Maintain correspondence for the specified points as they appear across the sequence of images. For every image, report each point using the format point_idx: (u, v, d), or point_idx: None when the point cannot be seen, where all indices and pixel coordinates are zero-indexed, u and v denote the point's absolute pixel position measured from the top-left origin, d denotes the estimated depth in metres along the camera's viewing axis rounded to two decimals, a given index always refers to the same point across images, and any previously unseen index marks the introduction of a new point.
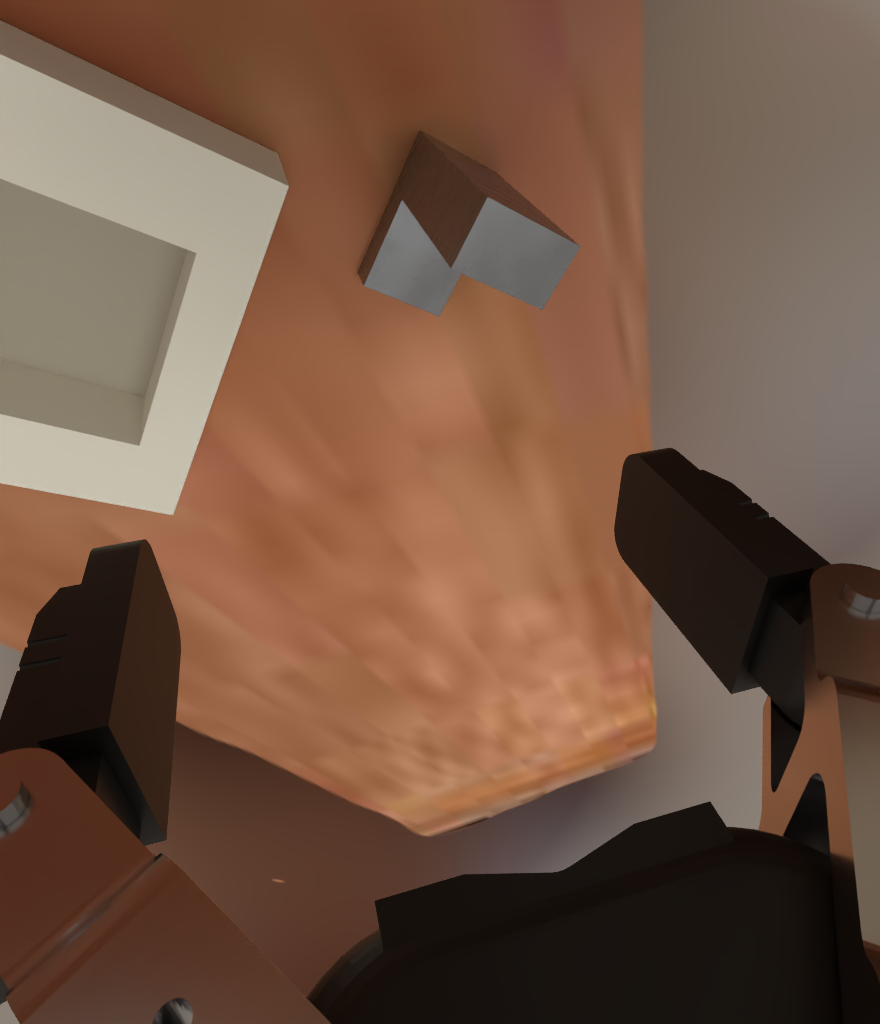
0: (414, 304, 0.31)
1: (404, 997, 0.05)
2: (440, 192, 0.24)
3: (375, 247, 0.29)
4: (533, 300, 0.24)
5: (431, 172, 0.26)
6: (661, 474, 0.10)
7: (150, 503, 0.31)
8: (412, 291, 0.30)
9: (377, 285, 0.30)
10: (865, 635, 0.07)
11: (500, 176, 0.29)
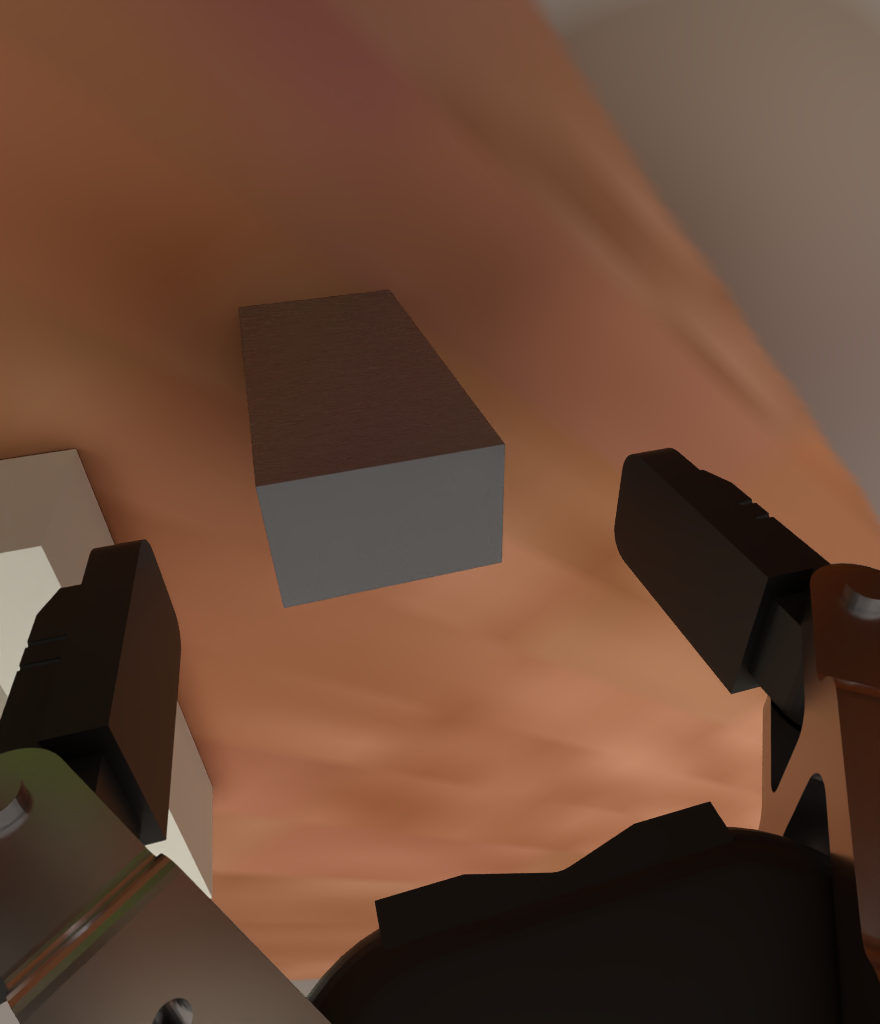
0: None
1: (404, 997, 0.05)
2: None
3: None
4: (474, 560, 0.12)
5: None
6: (661, 474, 0.10)
7: None
8: None
9: None
10: (864, 635, 0.07)
11: (392, 295, 0.17)
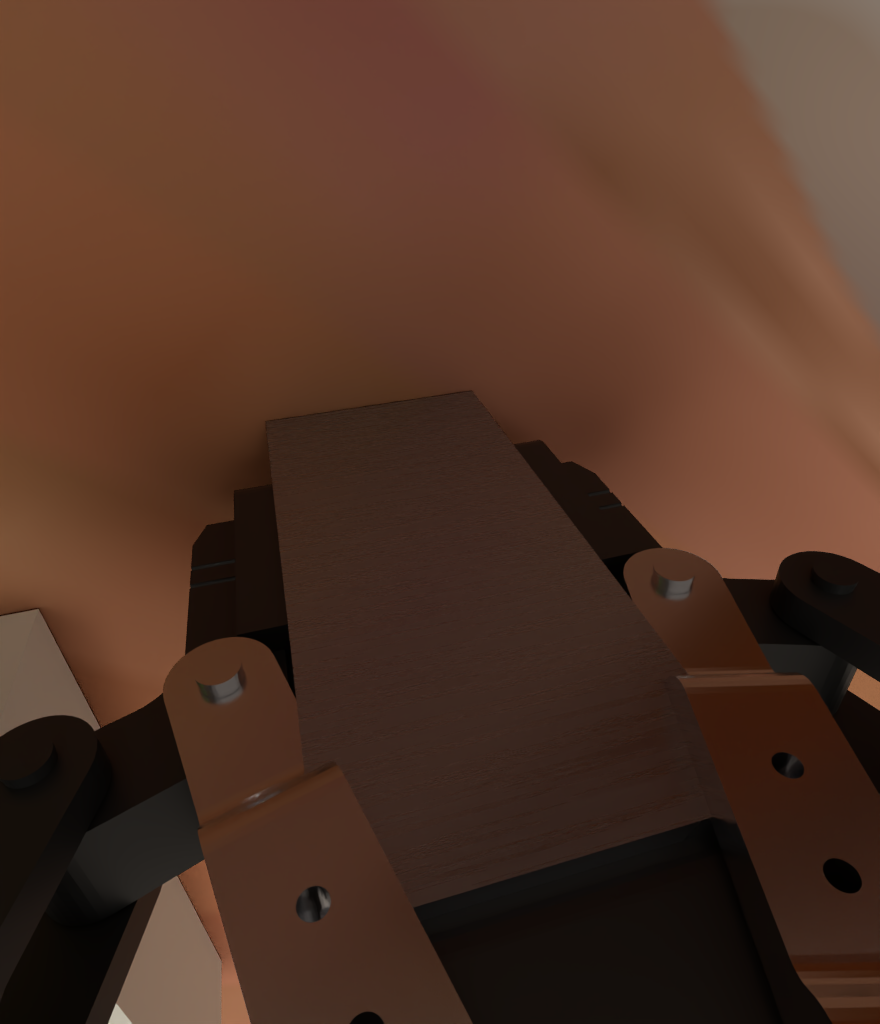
0: None
1: None
2: None
3: None
4: None
5: None
6: None
7: None
8: None
9: None
10: (658, 614, 0.08)
11: (478, 401, 0.13)
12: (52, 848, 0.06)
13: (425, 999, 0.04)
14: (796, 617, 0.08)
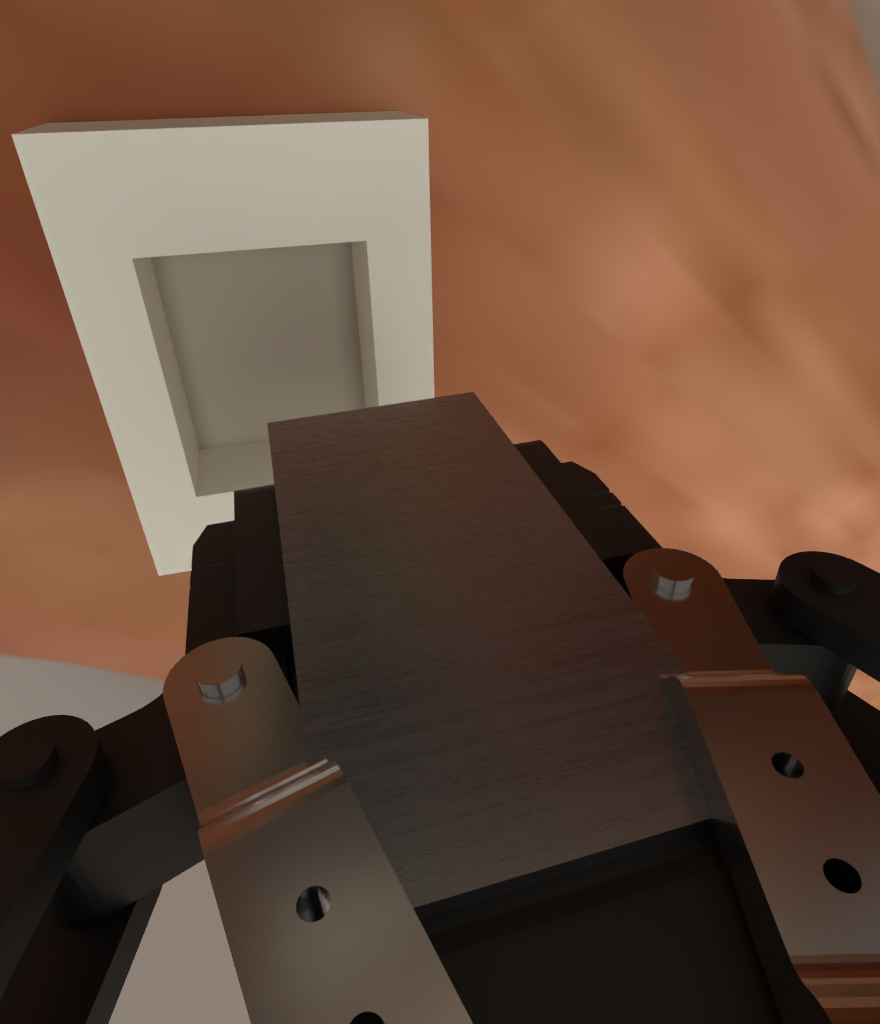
0: None
1: None
2: None
3: None
4: None
5: None
6: None
7: None
8: None
9: None
10: (657, 614, 0.08)
11: (480, 402, 0.13)
12: (52, 848, 0.06)
13: (425, 997, 0.04)
14: (796, 617, 0.08)
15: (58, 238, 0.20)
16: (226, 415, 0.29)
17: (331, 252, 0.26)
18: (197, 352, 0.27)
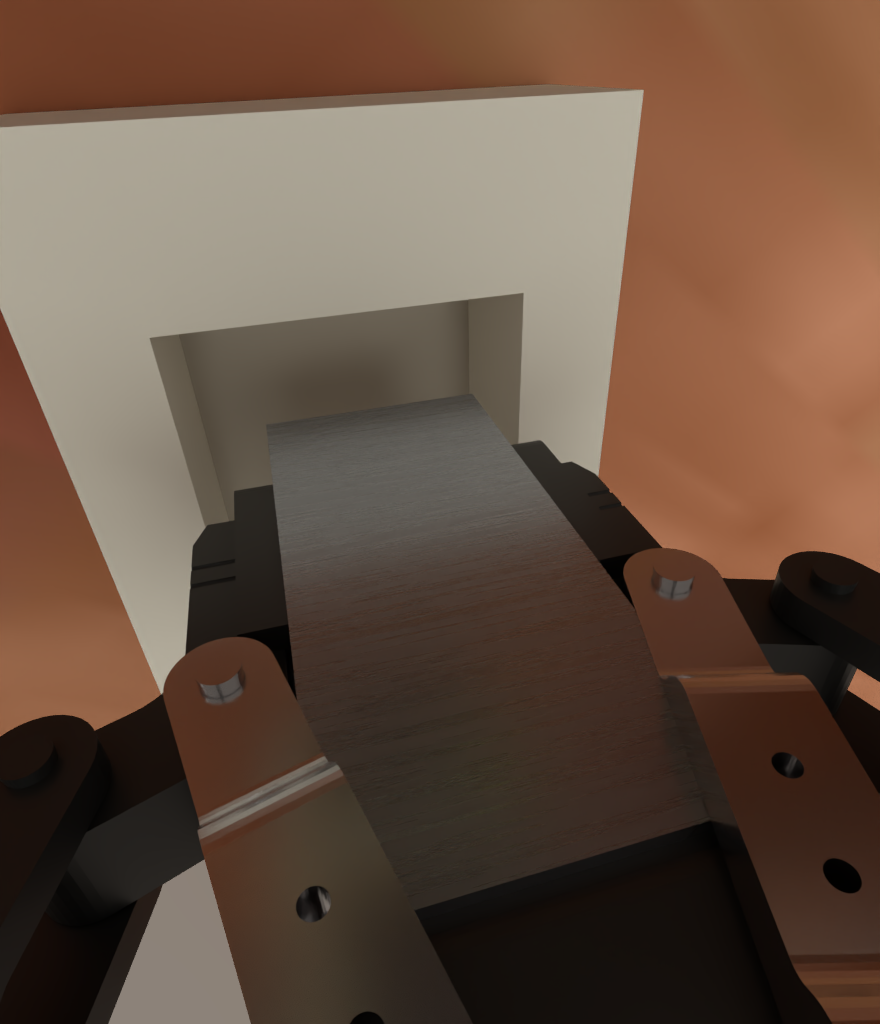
0: None
1: None
2: None
3: None
4: None
5: None
6: None
7: None
8: None
9: None
10: (658, 614, 0.08)
11: (479, 404, 0.13)
12: (52, 848, 0.06)
13: (425, 997, 0.04)
14: (796, 617, 0.08)
15: (23, 311, 0.12)
16: None
17: None
18: (242, 447, 0.18)
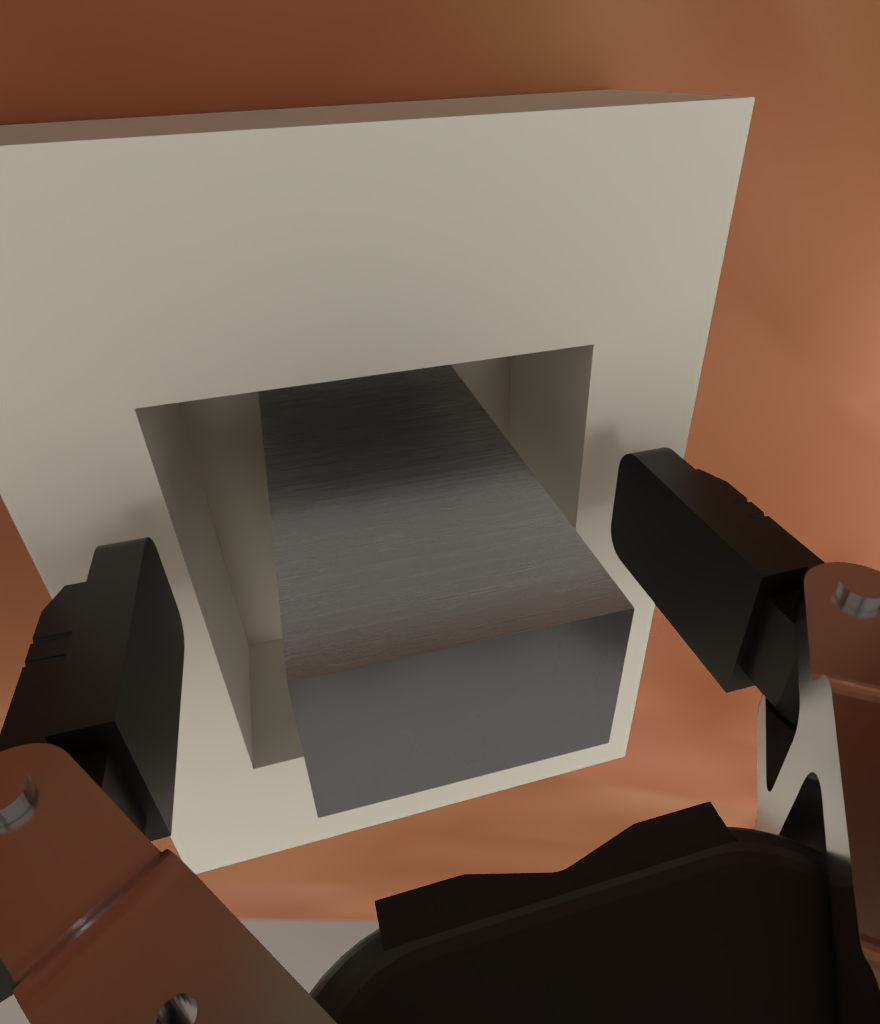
0: None
1: (404, 997, 0.05)
2: None
3: None
4: (574, 743, 0.09)
5: None
6: (656, 473, 0.10)
7: (590, 757, 0.18)
8: None
9: None
10: (858, 633, 0.07)
11: None
12: None
13: None
14: None
15: None
16: None
17: None
18: (248, 509, 0.16)
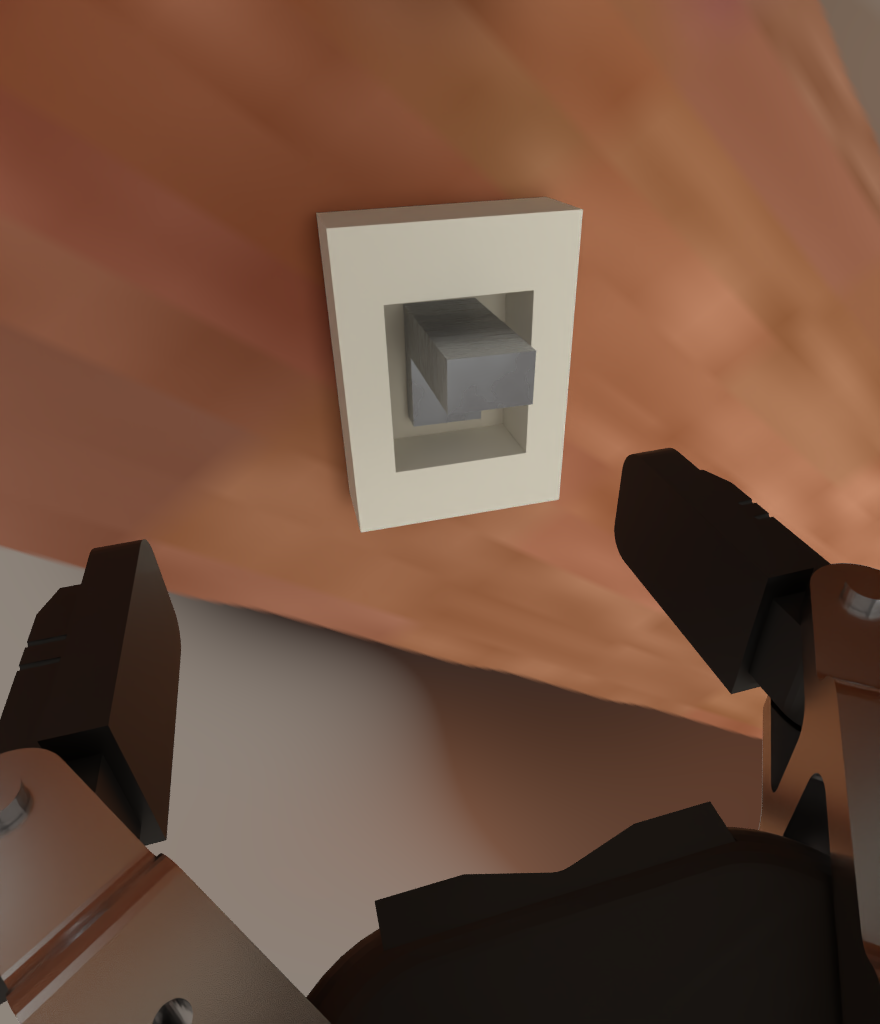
0: (457, 420, 0.38)
1: (404, 997, 0.05)
2: (425, 354, 0.32)
3: (409, 396, 0.37)
4: (521, 402, 0.30)
5: (417, 338, 0.33)
6: (661, 474, 0.10)
7: (542, 496, 0.39)
8: None
9: (423, 421, 0.37)
10: (865, 635, 0.07)
11: (477, 300, 0.35)
12: None
13: None
14: None
15: (340, 292, 0.30)
16: (405, 415, 0.39)
17: (492, 295, 0.36)
18: (391, 368, 0.37)
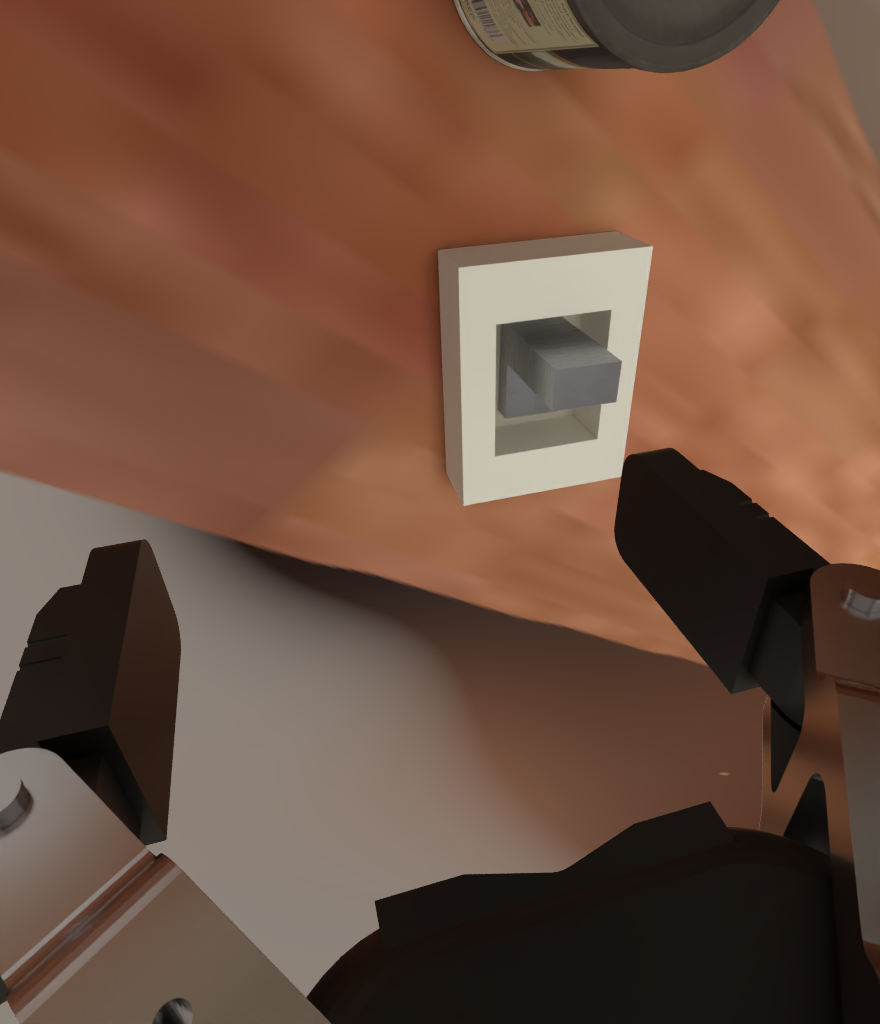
0: (540, 412, 0.46)
1: (404, 998, 0.05)
2: (528, 362, 0.40)
3: (502, 394, 0.45)
4: (608, 400, 0.38)
5: (518, 348, 0.41)
6: (661, 474, 0.10)
7: (607, 474, 0.48)
8: (535, 406, 0.46)
9: (513, 414, 0.46)
10: (865, 635, 0.07)
11: None
12: None
13: None
14: None
15: (464, 316, 0.38)
16: (495, 409, 0.47)
17: None
18: None
